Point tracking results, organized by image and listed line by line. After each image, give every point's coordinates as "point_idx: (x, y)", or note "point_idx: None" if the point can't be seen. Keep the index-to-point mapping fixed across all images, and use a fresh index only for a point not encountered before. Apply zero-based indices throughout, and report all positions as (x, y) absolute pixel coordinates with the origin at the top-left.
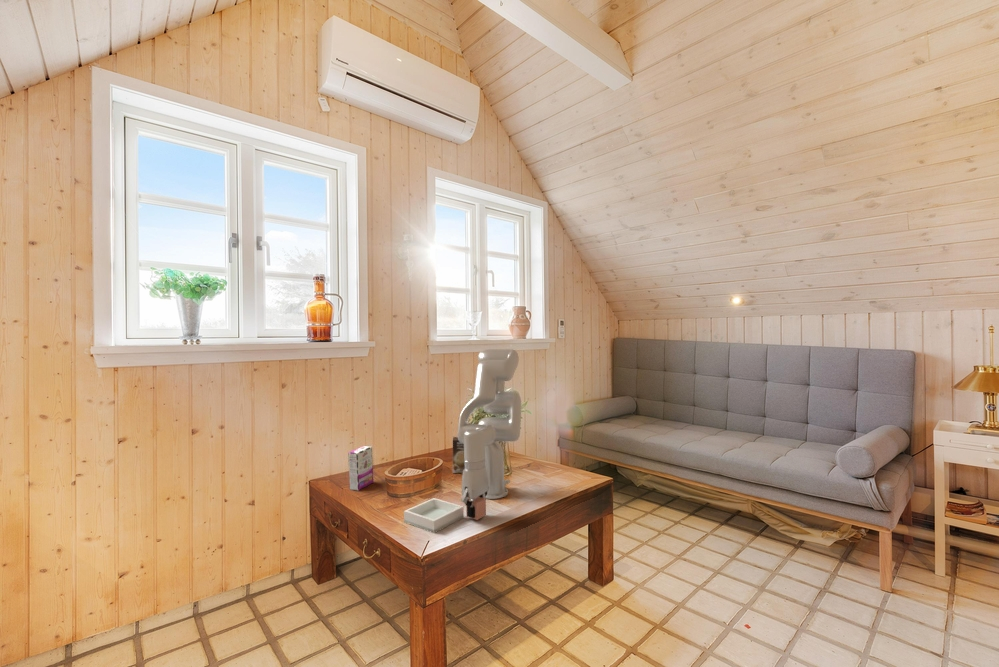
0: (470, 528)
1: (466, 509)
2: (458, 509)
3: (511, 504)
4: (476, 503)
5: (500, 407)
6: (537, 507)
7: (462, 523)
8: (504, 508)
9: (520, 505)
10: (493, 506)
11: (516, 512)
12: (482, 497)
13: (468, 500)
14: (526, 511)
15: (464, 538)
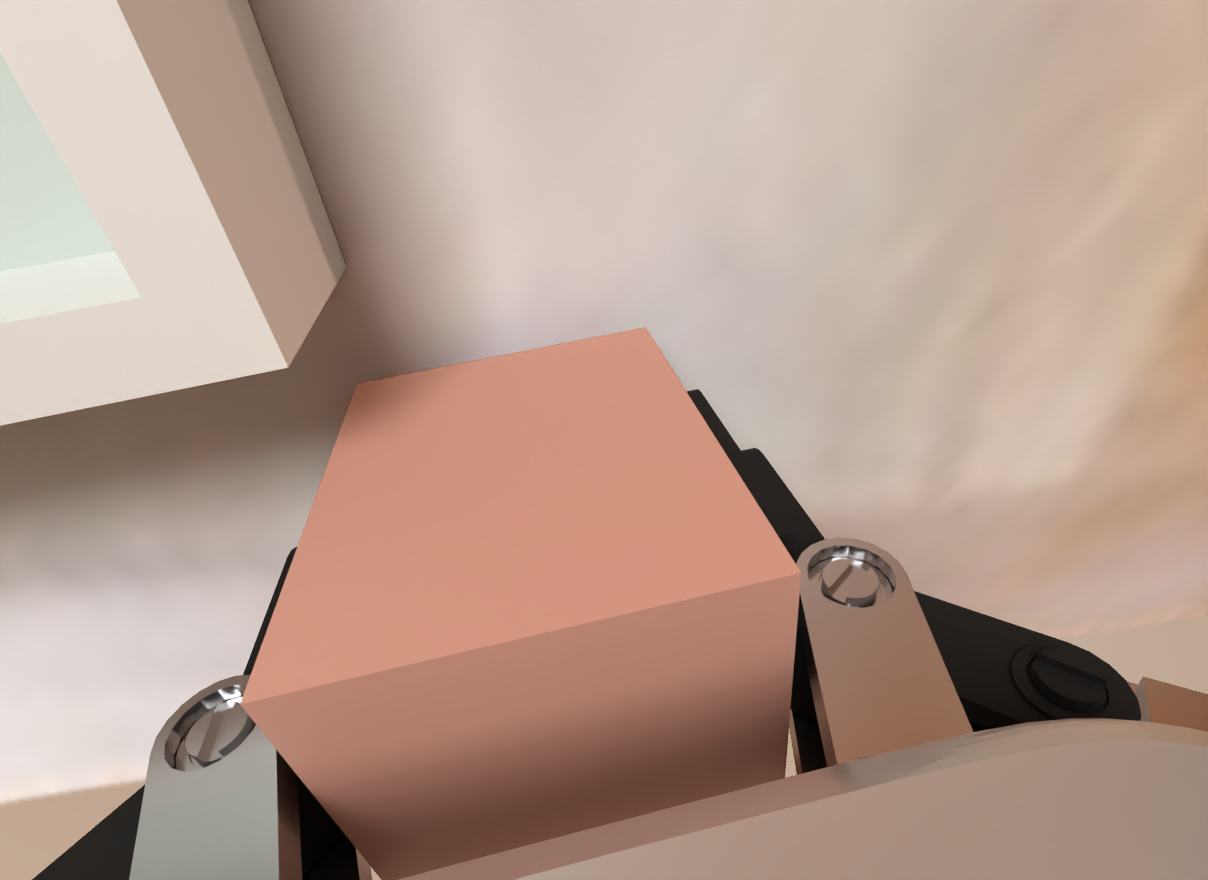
0: (233, 649)
1: (327, 472)
2: (37, 409)
3: (1198, 399)
4: None
5: None
6: (1160, 617)
7: (189, 461)
8: (1040, 438)
9: (1183, 490)
10: (1065, 266)
11: (975, 598)
12: (798, 757)
13: (241, 865)
14: (1035, 630)
15: (11, 800)
